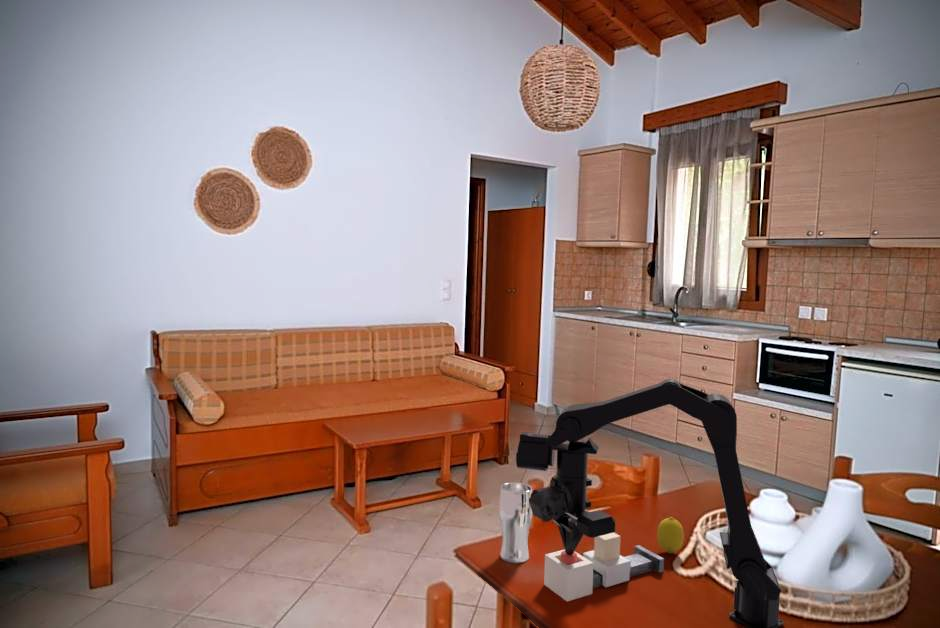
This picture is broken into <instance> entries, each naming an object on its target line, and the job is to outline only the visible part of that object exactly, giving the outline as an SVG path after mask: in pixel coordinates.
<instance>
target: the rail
mask: <svg viewBox="0 0 940 628" xmlns="http://www.w3.org/2000/svg"><path fill="white" fill-rule="evenodd" d="M633 549H634V551H633V552H634V553H632V554H630V555H627V556H624V557H625V558H626V559H628V560H630V561H631V567H630V573H629V578H632V577H635V576H638V575H641V574H645V573H649V572H652V571H654V572H656V573H658V574H661V573H663V572H664V566H665V565H664V564H665V558H664V557H662V556H660V555H658V554H656V553H654V552H652V551H651V550H649V549H647V548H645V547H643V546H642V545H639V544H638V545H637V544H636V545H635V546H634V548H633ZM602 582H603V575H602V574H600V573H599V572H597V571H596V570H594V569H593V588H592V589H595V588H599V587H602V586H603V585H602ZM603 587H604V586H603Z"/></svg>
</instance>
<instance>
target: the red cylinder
mask: <svg viewBox="0 0 940 628" xmlns="http://www.w3.org/2000/svg"><path fill="white" fill-rule="evenodd" d="M575 552H576V551H575ZM575 552H574V553H573V554H572V555H568V554H566V552H565V551H562V552H561V562H563V563H564V564H566V565H570V564H574V563H577V553H578V552H577V553H575Z"/></svg>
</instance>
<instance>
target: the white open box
mask: <svg viewBox="0 0 940 628" xmlns="http://www.w3.org/2000/svg"><path fill="white" fill-rule="evenodd" d="M562 551H565V548H564V549H561V550H558V551H554V552H550V553H545V554H544V576H543V579H544V582H543V583H544V584H543V585H544V586H545V587H547V588H548V589H550V590H551V591H552V592H553V593H554V594H556V595H557V596H559V597H561V599H563V601H566V602H570V601H574V600H578V599H581V598H583V597H588V596H590V595H593V589H594V588H593V562H591V561H589V560H588V559H586V558H585V557H583V555H581V554H580V553H578V552H576V550H575V551H574V552H575V553H577V563H574V564H570V565H566V564H564V563H563V562H561V552H562Z"/></svg>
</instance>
